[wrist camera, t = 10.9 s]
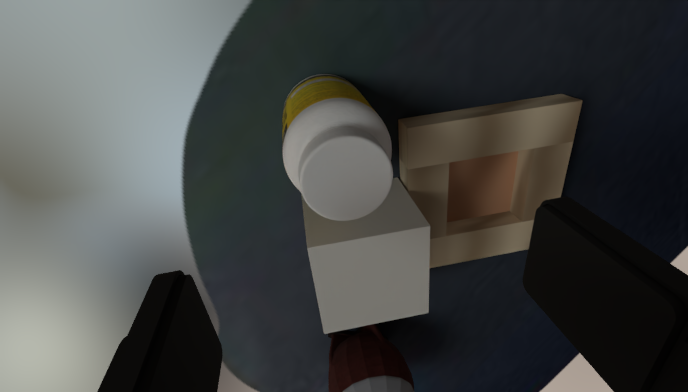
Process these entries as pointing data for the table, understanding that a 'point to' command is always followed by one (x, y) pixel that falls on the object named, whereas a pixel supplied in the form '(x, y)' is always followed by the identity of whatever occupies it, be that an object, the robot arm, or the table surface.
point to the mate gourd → (366, 363)
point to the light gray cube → (370, 263)
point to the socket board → (486, 172)
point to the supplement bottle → (336, 148)
